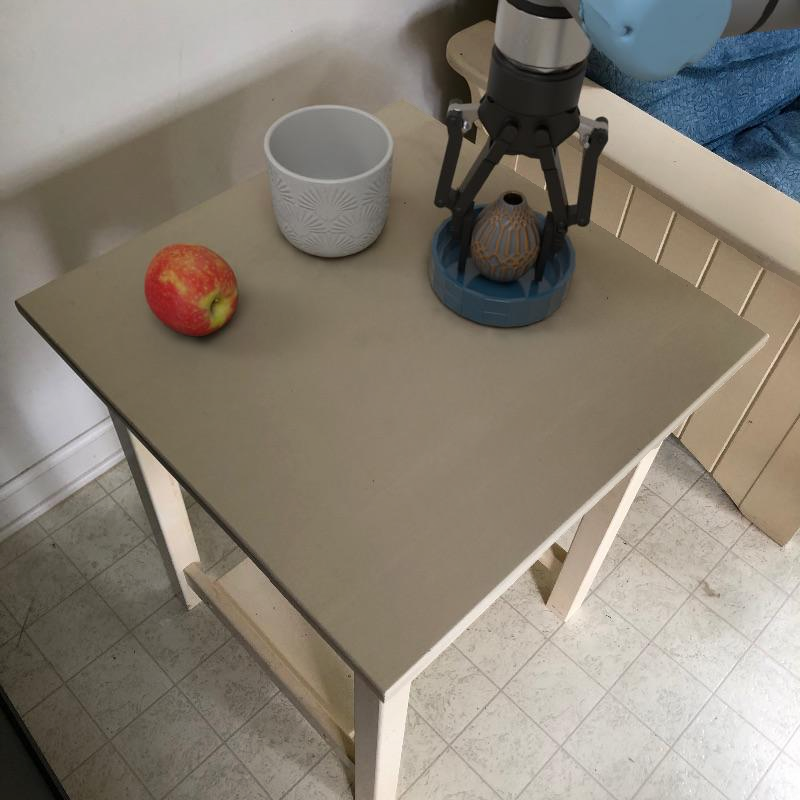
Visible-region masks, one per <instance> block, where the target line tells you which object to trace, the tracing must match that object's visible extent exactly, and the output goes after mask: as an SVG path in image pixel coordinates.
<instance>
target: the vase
mask: <svg viewBox="0 0 800 800" xmlns="http://www.w3.org/2000/svg"><path fill="white" fill-rule="evenodd" d="M488 204H489V205H488V206H486V207H485V208H484V209H483V210H482V211H481V212H480V213H479V215H478V216H477V218H476V220H475V221H474V224H473V226H472V229H471V232H470V239H469V250H470V256H471V259H472V262H473V264H474V266H475V267H476V269H477V270H478V271H479V272H480V273H481V274H482V275H483V276H485V277H486V278H488V279H490V280H492V281H496V282H510V281H514V280H517V279H519V278H521V277H522V276H524V275H525V274H527V273H528V272H529V270H530V269H531V268H532V267H533V265H534V264H535V262H536V260H537V258H538V255H539V253H540V249H541V244H542V232H541V226H540V222H539V220H538V218H537V216H536V214H535V213H534V211H535V210H533V209H532V207H531V206H530V204H529V203H528V200H527V197H526V195H525V194H523V193H522V192H521V191H518V190H513V189H509V190H505V191H503V192H502V193H501V194H500V195H499V196H498V198H497V199H495V200H493V201H492V202H491V203H488Z"/></svg>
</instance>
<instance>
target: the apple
mask: <svg viewBox="0 0 800 800" xmlns="http://www.w3.org/2000/svg"><path fill="white" fill-rule="evenodd" d="M143 287H144V288H143V289H144V296H145V300H146V302H147V305H148V307H149V309H150V311H151V312H152V313H153V315H154V316H155V317H156V318H157V319H158V320H159V321H160V322H161V323H162V324H163V325H165V326H166V327H167V328H169V329H170V330H172V331H174V332H176V333H179V334H181V335H185V336H191V337H204V336H208V335H210V334H212V333H214V332H215V331H217V330H219V329H220V328H222V327H223V326H224V325H225V324H226V323H227V322H228V321H229V320H230V319H231V318H232V316H233V315H234V313H235V311H236V308H237V305H238V302H239V286H238V280H237V277H236V274H235V272H234V270H233V269H232V268H231V266H230V264H229V263H228V261H226V259H225V258H223V257H222V256H221V255H219V254H218V253H216V252H215V251H214V250H212V249H210V248H209V247H207V246H204V245H201V244H196V243H190V242H182V243H174V244H171V245H168V246H165V247H163V248H161V249H160V250H159V251H158V252H157V253H156V254H155V255H154V256H153V257H152V259H151V260H150V261H149V263H148V265H147V268H146V272H145V275H144V286H143Z"/></svg>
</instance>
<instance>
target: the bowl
mask: <svg viewBox="0 0 800 800" xmlns="http://www.w3.org/2000/svg"><path fill="white" fill-rule="evenodd" d="M489 204H490V203H482V204H481V203H480V204H475V205H474V212H473V219H472V226H473V224H474V221H475V220H476V218H477V216H478V215H479V213H480V212H481V211H482V210H483V209H484V208H485V207H486V206H488V205H489ZM533 211H534V213H535V214H536V216H537V218H538V220H539V222H540V226H541V232H542V233H543V228H544V224H545V219H546V215H543V214H542V213H540V212H538V211H535V210H533ZM451 221H452V214H451V215H450V216H448V217H446V218H445V219H443V220H442V222H441V223H440V225H439V226H438V227H437V229H435V231H434V232H433V237H432V241H431V245H430V255H429V266H428V275H429V276H428V277H429V280H430V284H431V288H432V290H433V291H434V292H435V294H436V295H437V297H438V298H439V299H440V300H441V302H442V303H443V304H444V305H445V306H446V307H448V308H449V309H450V310H452V311H453V312H455V313H456V314H458V315H459V316H461V317H462V318H463V317H464V318H466V319H469V320H471V321H473V322H476V323H479V324H481V325H486V326H487V325H488V326H496V327H502V328H508V327H509V328H510V327H511V328H512V327H520V326H528V325H531V324H534V323H536V322H539V321H541V320H545V319H547V318H548V317H549V316H550V315H552V314H553V313H554V312H556V311H557V310H558V309H559V308H560V307H561V306H562V304H563V302H564V301H565V298H566V297H567V295H568V293H569V290H570V288H571V287H570V286H571V283H572V280H573V276H574V272H575V269H576V255H577V254H576V250H575V248H574V245H573V242H572V241H571V238H570V236H569V235H568V233H566V234H565V237H564V241H563V245H562V249H561V250H560V251H559V253H556V252H549V254H548V258H547V262H546V266H545V270H544V274H543V279H542V282H539V281H534V276H535V264H536V262H535V264H534V265H533V267H532V268H531V269H530V270H529V272H528V273H527V274H525V275H524V276H522V277H521V278H519V279H517V280H514V281H510V282H496V281H492V280H490V279H488V278H486V277H485V276H483V275H482V274H481V273H480V272H479V271H478V270H477V269H476V267H475V266H474V264H473V262H472V259H471V256H470V250H469V247H468V254H467V261H466V267H465V271H461V270H457V268H458V261H459V253H460V246H461V240H459V239H452V238H451V236H450V230H451ZM472 226H471V229H472Z"/></svg>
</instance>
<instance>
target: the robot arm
mask: <svg viewBox="0 0 800 800" xmlns="http://www.w3.org/2000/svg"><path fill="white" fill-rule="evenodd" d="M795 29H800V0H498V2H497V9H496V16H495V26H494V31H493V32H494V33H493V41H494V43H493V45H492V49H491V54H490V55H491V56H490V63H489V69H488V76H487V83H486V91H485V93H484V94H483V96H481V98H480V99H479V102H473V103H472V102H471V103H464V102H463V100H462V99H460V98H457V97H455V98H452V99H450V101H449V103H448V109H447V112H446V117H445V123H446V129H447V130H446V131H447V136H448V139H447V143H446V146H445V151H444V155H443V159H442V164H441V168H440V172H439V176H438V181H437V185H436V190H435V195H434V199H433V204H434V206H435V207H437V208H438V209H444V208H446V209H448V210H450V212H451V215H452V221H451V230H450V236H451V238H452V239H459V240H461V246H460V253H459V261H458V268H457V270H461V271H465V267H466V261H467V254H468V247H469V239H470V232H471V226H472V219H473V212H474V206H475V205H476V204H475V203H476V201H475V198H476V197H477V195H478V194H479V192H480V191H481V189H482V187H483V186H484V184H485V182H486V181H487V180H488V178H489V176H490V175H491V173H492V172H493V170H494V169H495V167H496V166H498V165H499V164H500V162H501V160H502V159H503V157H504V156H511V157H512V156H524V157H527V158H529V159H534V160H535V159H536V160H539V164H540V167H541V168H540V169H541V171H542V172H543V177H544V181H545V185H546V191H547V195H548V199H549V204H550V209H551V210H547V211H546V215H545V217H546V219H545V224H544V228H543V233H542V244H541V249H540V253H539V255H538V258H537V260H536V264H535V276H534V281H539V282H542V279H543V274H544V270H545V266H546V262H547V258H548V254H549V252H556V253H559V251H560V250H561V249H562V245H563V241H564V237H565V234H568V232H569V228H570V227H571V226H574V225H575V226H576V225H577V226H578V227H579V228H585V227H587V226H588V225H590V222H591V214H592V207H593V200H594V199H593V198H594V193H595V192H594V191H595V185H596V178H597V177H596V176H597V171H598V162H599V157H600V155H601V154H602V152H603V150H604V149H605V147H606V146H607V144H608V142H609V119H608V118H607V117H605V116H599V117H596V118H595V119H592V118H589V117H586V116H584V115H582V114H581V110H580V108H579V102H580V98H581V93H582V88H583V85H584V81H585V77H586V71H587V68H588V63H589V59H588V56H589V55H590V53H591V51H592V47H593V48H595V49H596V50H597V52H599V53H603V55H604V56H605V57H606V58H607V59H609V60H610V61H611V63H613V64H614V65H615V66H616V68H618V69H619V70H620V71H621V72H622V73H623V74H625V75H626V76H628V77H630V78H632V79H635V80H638V81H644V82H659V81H663V80H667V79H671V78H674V77H676V76H677V75H678V73H679V72H680V71H682V70H684V69H685V68H686V67H687V68H688V67H689V66H692V67H693V66H694V65H696V64H698V63H699V62H700V61H701V60H703V58H705V57H706V56H707V55H708V54H709V52H710V51H711V50H712V49H713V48H714V46H715V45H716V44H717V43H718V41H719V40H720V39H725V38H726V39H727V38H733V37H739V36H744V35H748V34H754V33H764V32H774V31H775V32H777V31H784V30H795ZM475 121H479V122H480V124H481V125H482V127H483V128H484V130H485V131H486V133H487V135H488V137H487V139H486V142H485V144H484V146H483V147H482V148H481V150H480V152H479V153H478V155H477V157H476V159H475V160H474V162H473V163H472V165H471V167H470V169H469V170H468V171H467V174H466V175H465V177H464V179H463V180H462V182H461V183H460V185H459V186H456V189H455V188H453V187H452V185H453V181H454V177H455V174H456V173H455V172H456V169H457V165H458V162H459V158H460V153H461V150H462V147H463V146H462V145H463V140H464V136H465V134H466V133H468V132H469V131H471V129H472V128H473V125H474V124H473V123H474V122H475ZM575 133H577V134H578V135H579V140H578V141H579V145H580V146H581V147H582V157H581V166H580V175H579V183H578V192H577V200H576V203H574V204H569V198H568V195H567V189H566V185H565V180H564V174H563V168H562V165H561V159H560V153H559V146H560V145H562V144H563V143H564V142H566V141H567V139H569V138H570V137H571V136H573V134H575Z"/></svg>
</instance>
